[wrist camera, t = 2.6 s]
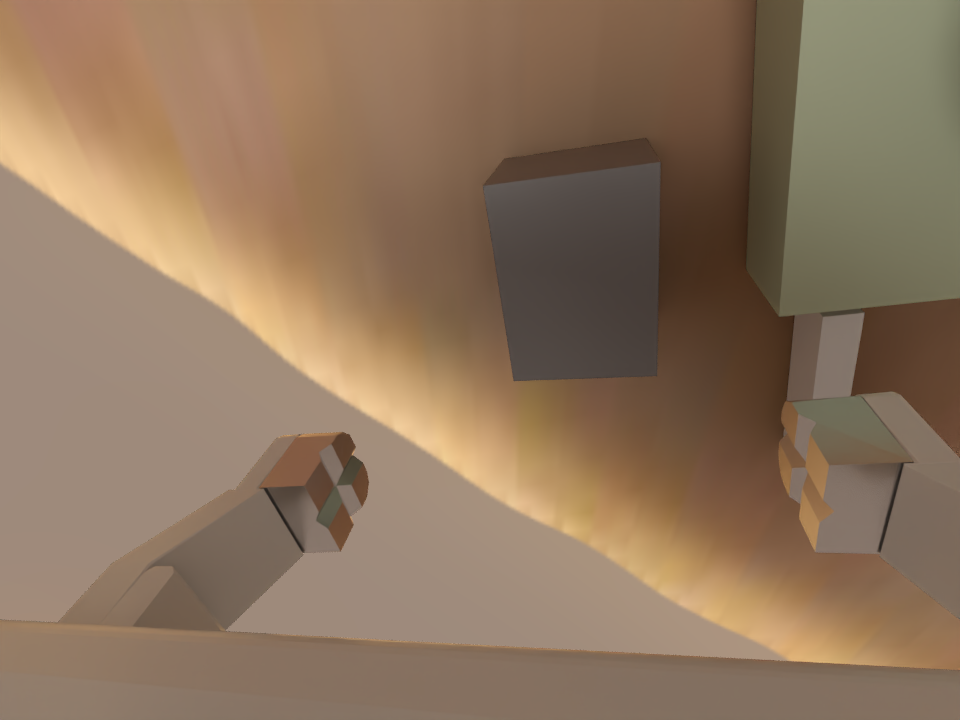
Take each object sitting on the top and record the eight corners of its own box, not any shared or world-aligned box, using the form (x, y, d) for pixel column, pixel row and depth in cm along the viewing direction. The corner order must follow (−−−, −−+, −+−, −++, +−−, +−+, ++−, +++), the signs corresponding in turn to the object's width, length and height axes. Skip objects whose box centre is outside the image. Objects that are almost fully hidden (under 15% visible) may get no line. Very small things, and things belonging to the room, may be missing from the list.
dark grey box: (645, 137, 17) (660, 161, 14) (645, 316, 21) (657, 376, 17) (504, 158, 18) (483, 185, 15) (526, 324, 22) (513, 380, 18)
